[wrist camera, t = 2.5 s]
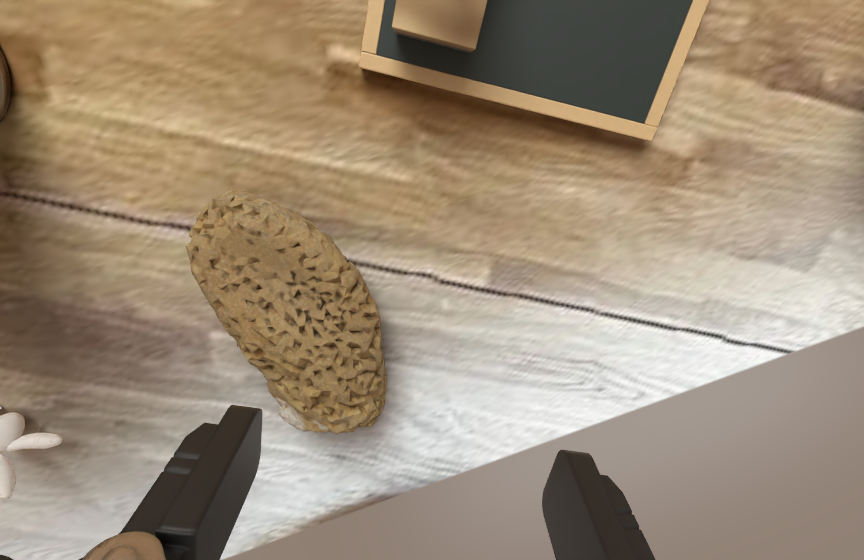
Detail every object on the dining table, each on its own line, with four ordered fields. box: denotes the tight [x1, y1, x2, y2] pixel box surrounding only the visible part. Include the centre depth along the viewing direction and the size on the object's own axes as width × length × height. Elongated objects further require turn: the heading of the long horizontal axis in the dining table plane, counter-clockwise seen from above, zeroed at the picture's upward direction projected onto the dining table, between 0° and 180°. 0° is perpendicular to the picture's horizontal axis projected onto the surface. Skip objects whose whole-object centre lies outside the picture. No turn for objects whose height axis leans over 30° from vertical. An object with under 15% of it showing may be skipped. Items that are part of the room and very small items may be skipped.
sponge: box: [186, 189, 387, 433], centre depth 35 cm, size 13×8×20 cm
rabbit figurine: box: [0, 407, 63, 499], centre depth 41 cm, size 6×4×8 cm
